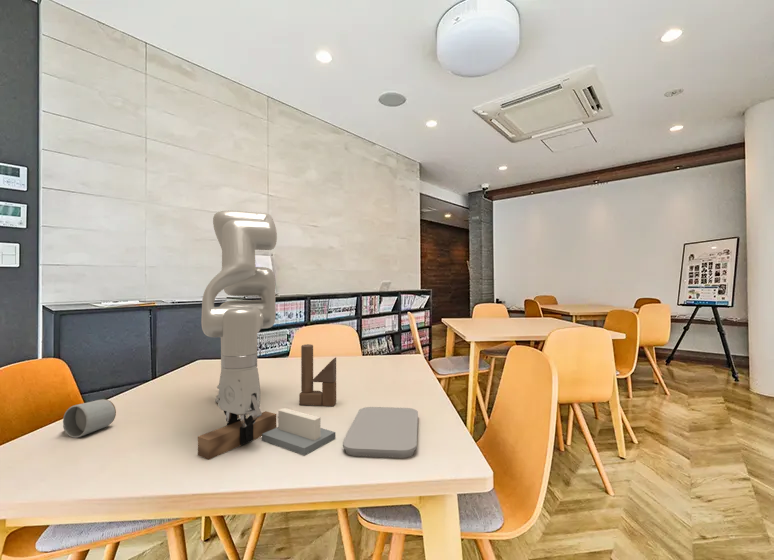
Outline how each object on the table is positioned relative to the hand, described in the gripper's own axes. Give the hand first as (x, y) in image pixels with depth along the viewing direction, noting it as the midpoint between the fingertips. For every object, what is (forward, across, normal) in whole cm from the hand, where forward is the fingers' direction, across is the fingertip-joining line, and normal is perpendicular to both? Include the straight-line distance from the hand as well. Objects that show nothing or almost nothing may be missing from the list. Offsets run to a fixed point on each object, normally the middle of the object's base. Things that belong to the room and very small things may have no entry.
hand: (240, 439), depth 84 cm
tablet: (+1, +26, +22) cm, 34 cm away
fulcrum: (0, +11, +8) cm, 14 cm away
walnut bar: (0, 0, 0) cm, 0 cm away
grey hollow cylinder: (+1, -38, -17) cm, 42 cm away
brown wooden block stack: (+1, -3, +29) cm, 29 cm away
